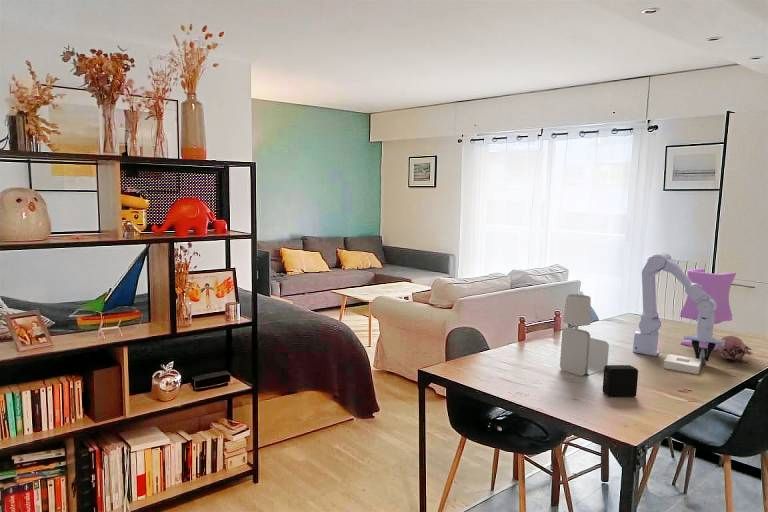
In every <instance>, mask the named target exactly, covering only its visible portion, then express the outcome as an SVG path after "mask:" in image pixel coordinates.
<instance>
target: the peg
mask: <svg viewBox="0 0 768 512" xmlns="http://www.w3.org/2000/svg"><path fill="white" fill-rule="evenodd" d="M706 358H707V348H706V347H699V350H698V359H701V366H706V365H707V361H706Z"/></svg>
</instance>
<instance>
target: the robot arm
mask: <svg viewBox="0 0 768 512" xmlns="http://www.w3.org/2000/svg"><path fill="white" fill-rule="evenodd" d="M646 261H647V262H645V263H646V264H645V265H644V267H643V269H642V270H641V285H642V312H641V315H640V321H639V323H638V328H639V331H638V330H636V331H634V337H633V347H632V348H633V349H632V352H633V353H637V354H638V353H639V354H643V355H648V356H649V355H650V356H655V357H656V356H658V354H659V352H660V351H659V350H658V345H659V344H658V342H659V330H660V328H661V326H662V322H661V320H660V318H659V313H658V311H657V295H656V292H657V289H656V275H658V274H659V272H661V271H663V272H666V273H671V274H672V276H673V277H675V279H677V280H678V282H679V283H680V284H681V285H682V286H683V287H684V292H685V294H686V295H687V296H689V297H690V298H691V299H692V300H693V301H694V303H695V304H697V309H698V311H699V315H698V321H697V326H696V335H691V334H690V335H689V334H684V335H683V341H686V340H689V341H692V346H693V347H692V348H693V351H694V354H695V355H694V356H695V358H696V359H698V353H699V342H703V343H709V344H708V351H707V358H706V362H709V358H710V355H711V354H712V352H714V351H713V349H714V348H715V345H721V346H724V345H725V341H724V340H721V339H718V338H714V337H713V335H714V325H715V324H714V313H715V311H714V310H715V309H716V308H717V303H716V301H715V299H713V298H710V297H711V296H710V295H707V294H706V293H705V291H704V290H703V289H702V286H701V285H698V284H697V283H692V282H691V280H690V279H689V278H688V274H686V273H685V271H683V269H682V268H681V267H680V265H679V264H678V263H677V261H676V260H675V259H674V258H672V256H671V255H670V254H668V253H665V252H664V253H660V254H653V255H652V256H651V257H649V258H648V259H647V260H646ZM712 311H713V312H712Z"/></svg>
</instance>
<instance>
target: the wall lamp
mask: <svg viewBox="0 0 768 512" xmlns="http://www.w3.org/2000/svg"><path fill="white" fill-rule="evenodd" d="M565 298H566V299H565V305H564V312H563V313H564V314H563V320H562V321H563V323H565V324H567V325H571V326H574V327H571V326H568V327H565V328H563V329H562V331H561V345H560V357H559V367H560V370H561V371H562V372H567V373H570V374H573V375H577V376H580V377H582V376H584V375H588V376H591V375H593V374H596V373H599V372H601V371H604V367H605V366H606V365H609V364H608V363H609V352H610V351H609V349H610V348H609V347H610V346H609V342H607V341H606V340H603V339H597V338H592V337H591V334H590V332H589V331H587V330H584V329H579V326H583V327H584V326H585V327H586V326H590V325H591V324H592V322H591V318H592V317H591V315H592V313H591V311H592V310H591V303H592V302H591V296H590V295H585V294H578V293H575V294H573V293H572V294H571V293H569V294H566V297H565Z"/></svg>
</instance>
